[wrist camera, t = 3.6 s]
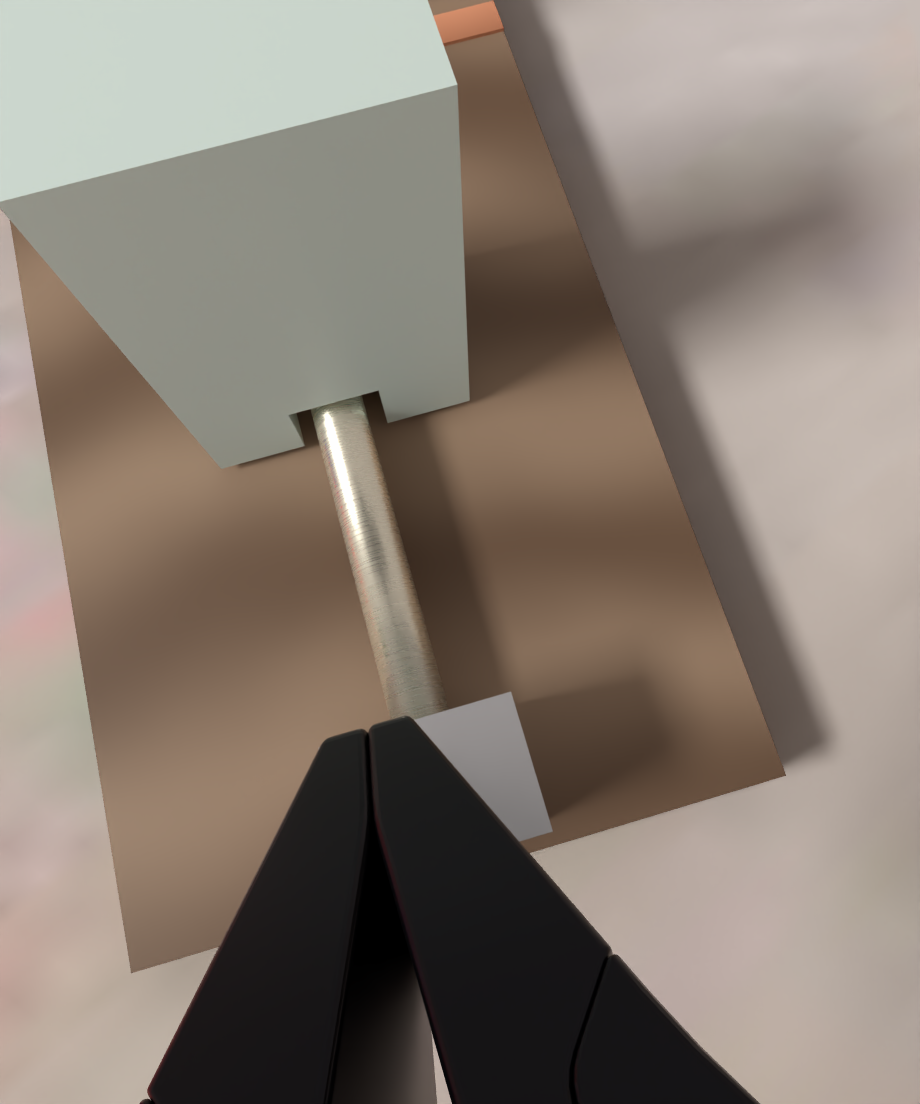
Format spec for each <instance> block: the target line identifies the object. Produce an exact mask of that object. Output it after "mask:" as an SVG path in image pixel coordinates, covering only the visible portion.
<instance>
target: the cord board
mask: <svg viewBox="0 0 920 1104" xmlns="http://www.w3.org/2000/svg"><path fill="white" fill-rule="evenodd" d="M428 3H429V5H430V8H431V11H432V14H433V17H434V20H435V22H436V25H437V28H438V31H439V34H440V37H441V39H442V42H443V45H444V48H445V51H446V54H447V56H448V59H449V62H450V65H451V68H452V71H453V74H454V76H455V79H456V82H457V87H458V112H459V138H460V164H461V190H462V216H463V241H464V267H465V293H466V319H467V344H468V370H469V396H470V401H467V402H463V403H459V404H456V405H452V406H449V407H445V408H441V409H438V410H434V411H430V412H427V413H423V414H419V415H416V416H412V417H408V418H405V419H401V420H398V421H394V422H390V423H387V419H386V416H385V412H384V409H383V405H382V402H381V398H380V395H379V391H375V392H371V393H367V394H364V395H362V398H363V402H364V405H365V409H366V413H367V416H368V420H369V423H370V427H371V431H372V434H373V438H374V441H375V445H376V449H377V452H378V456H379V459H380V463H381V467H382V470H383V474H384V477H385V481H386V485H387V488H388V492H389V495H390V499H391V503H392V506H393V510H394V513H395V517H396V520H397V524H398V528H399V531H400V535H401V538H402V542H403V546H404V549H405V553H406V556H407V560H408V564H409V567H410V571H411V574H412V578H413V582H414V585H415V589H416V592H417V596H418V600H419V603H420V607H421V610H422V614H423V618H424V621H425V625H426V628H427V632H428V636H429V639H430V643H431V646H432V650H433V654H434V657H435V661H436V664H437V668H438V672H439V675H440V679H441V682H442V686H443V689H444V693H445V697H446V700H447V704H448V707H449V709H453V708H456V707H460V706H463V705H467V704H470V703H473V702H477V701H480V700H484V699H487V698H491V697H494V696H497V695H501V694H504V693H508V692H511V693H512V697H513V700H514V703H515V707H516V710H517V713H518V717H519V720H520V723H521V727H522V730H523V733H524V737H525V740H526V743H527V747H528V750H529V753H530V757H531V760H532V763H533V767H534V770H535V773H536V777H537V780H538V783H539V787H540V790H541V793H542V797H543V800H544V803H545V807H546V810H547V813H548V817H549V820H550V823H551V827H552V830H553V832H549V833H546V834H543V835H539V836H536V837H533V838H529V839H526V840H523V841H520V843H521V844H522V845H523V846H524V848H525V849H526V850H527V851H528V852H529V853H531V852H534V851H538V850H541V849H544V848H547V847H551V846H554V845H557V844H561V843H564V842H567V841H571V840H574V839H577V838H581V837H584V836H587V835H591V834H594V833H597V832H600V831H604V830H607V829H610V828H614V827H617V826H620V825H624V824H627V823H630V822H634V821H637V820H640V819H644V818H647V817H650V816H653V815H657V814H660V813H663V812H667V811H670V810H673V809H677V808H680V807H683V806H687V805H690V804H693V803H696V802H700V801H703V800H706V799H710V798H713V797H716V796H720V795H723V794H726V793H730V792H733V791H736V790H740V789H743V788H746V787H749V786H753V785H756V784H759V783H763V782H766V781H769V780H773V779H776V778H779V777H783V776H786V774H785V771H784V769H783V766H782V764H781V761H780V758H779V756H778V753H777V750H776V748H775V745H774V742H773V740H772V737H771V735H770V732H769V729H768V727H767V724H766V721H765V719H764V716H763V713H762V711H761V708H760V706H759V703H758V700H757V698H756V695H755V692H754V690H753V687H752V684H751V682H750V679H749V677H748V674H747V671H746V669H745V666H744V663H743V661H742V658H741V655H740V653H739V650H738V648H737V645H736V642H735V640H734V637H733V634H732V632H731V629H730V626H729V624H728V621H727V619H726V616H725V613H724V611H723V608H722V605H721V603H720V600H719V597H718V595H717V592H716V590H715V587H714V584H713V582H712V579H711V576H710V574H709V571H708V568H707V566H706V563H705V561H704V558H703V555H702V553H701V550H700V547H699V545H698V542H697V539H696V537H695V534H694V532H693V529H692V526H691V524H690V521H689V518H688V516H687V513H686V510H685V508H684V505H683V503H682V500H681V497H680V495H679V492H678V489H677V487H676V484H675V481H674V479H673V476H672V474H671V471H670V468H669V466H668V463H667V460H666V458H665V455H664V452H663V450H662V447H661V445H660V442H659V439H658V437H657V434H656V431H655V429H654V426H653V423H652V421H651V418H650V416H649V413H648V410H647V408H646V405H645V402H644V400H643V397H642V394H641V392H640V389H639V387H638V384H637V381H636V379H635V376H634V373H633V371H632V368H631V365H630V363H629V360H628V358H627V355H626V352H625V350H624V347H623V344H622V342H621V339H620V336H619V334H618V331H617V329H616V326H615V323H614V321H613V318H612V315H611V313H610V310H609V307H608V305H607V302H606V299H605V297H604V294H603V292H602V289H601V286H600V284H599V281H598V278H597V276H596V273H595V270H594V268H593V265H592V263H591V260H590V257H589V255H588V252H587V249H586V247H585V244H584V241H583V239H582V236H581V234H580V231H579V228H578V226H577V223H576V220H575V218H574V215H573V212H572V210H571V207H570V205H569V202H568V199H567V197H566V194H565V191H564V189H563V186H562V183H561V181H560V178H559V176H558V173H557V170H556V168H555V165H554V162H553V160H552V157H551V154H550V152H549V149H548V147H547V144H546V141H545V139H544V136H543V133H542V131H541V128H540V125H539V123H538V120H537V118H536V115H535V112H534V110H533V107H532V104H531V102H530V99H529V96H528V94H527V91H526V89H525V86H524V83H523V81H522V78H521V75H520V73H519V70H518V67H517V65H516V62H515V60H514V57H513V54H512V52H511V49H510V46H509V44H508V41H507V38H506V36H505V33H504V27H503V25H502V22H501V19H500V17H499V14H498V11H497V9H496V6H495V3H494V1H492V0H428ZM10 224H11V230H12V236H13V242H14V249H15V255H16V261H17V267H18V273H19V280H20V286H21V292H22V298H23V304H24V311H25V317H26V323H27V329H28V335H29V342H30V348H31V354H32V360H33V366H34V373H35V379H36V385H37V391H38V397H39V404H40V410H41V416H42V422H43V428H44V435H45V441H46V447H47V453H48V459H49V466H50V472H51V478H52V484H53V490H54V497H55V503H56V509H57V515H58V521H59V528H60V534H61V540H62V546H63V552H64V559H65V565H66V571H67V577H68V584H69V590H70V596H71V602H72V608H73V615H74V621H75V627H76V633H77V639H78V646H79V652H80V658H81V664H82V670H83V677H84V683H85V689H86V695H87V701H88V708H89V714H90V720H91V726H92V732H93V739H94V745H95V751H96V757H97V763H98V770H99V776H100V782H101V788H102V794H103V801H104V807H105V813H106V819H107V825H108V832H109V838H110V844H111V850H112V856H113V863H114V869H115V875H116V881H117V887H118V894H119V900H120V906H121V912H122V918H123V925H124V931H125V937H126V943H127V949H128V956H129V962H130V968H131V973H133V972H137V971H140V970H143V969H147V968H150V967H153V966H157V965H160V964H163V963H167V962H170V961H173V960H177V959H180V958H183V957H186V956H190V955H193V954H196V953H200V952H203V951H206V950H210V949H213V948H216V947H219V946H220V944H221V942H222V940H223V938H224V936H225V934H226V932H227V930H228V928H229V926H230V924H231V922H232V920H233V918H234V916H235V914H236V912H237V910H238V908H239V906H240V904H241V902H242V900H243V898H244V896H245V894H246V892H247V890H248V888H249V886H250V884H251V882H252V880H253V878H254V876H255V875H256V873H257V871H258V869H259V867H260V865H261V863H262V861H263V859H264V857H265V855H266V853H267V851H268V849H269V847H270V845H271V843H272V841H273V839H274V837H275V835H276V833H277V831H278V829H279V827H280V825H281V823H282V821H283V819H284V817H285V815H286V813H287V811H288V809H289V807H290V805H291V803H292V801H293V799H294V797H295V795H296V793H297V791H298V789H299V787H300V785H301V783H302V781H303V779H304V777H305V775H306V773H307V771H308V769H309V767H310V765H311V763H312V761H313V759H314V757H315V755H316V753H317V752H318V750H319V749H318V748H319V747H320V746H321V744H322V743H323V742H324V741H325V740H326V739H327V738H329V737H332V736H336V735H339V734H342V733H346V732H349V731H353V730H356V729H364V730H366V731H367V732H369V729H370V727H371V726H372V725H374V724H377V723H380V722H384V721H387V720H391V719H390V715H389V711H388V707H387V704H386V700H385V696H384V692H383V688H382V684H381V680H380V677H379V673H378V669H377V665H376V661H375V657H374V653H373V649H372V646H371V642H370V638H369V634H368V630H367V626H366V622H365V618H364V615H363V611H362V607H361V603H360V599H359V595H358V591H357V587H356V584H355V580H354V576H353V572H352V568H351V564H350V560H349V557H348V553H347V549H346V545H345V541H344V537H343V533H342V529H341V526H340V522H339V518H338V514H337V510H336V506H335V502H334V498H333V495H332V491H331V487H330V483H329V479H328V475H327V471H326V467H325V464H324V460H323V456H322V452H321V448H320V444H319V440H318V437H317V433H316V429H315V425H314V421H313V417H312V413H311V409H309V410H305V411H301V412H298V413H297V417H298V421H299V425H300V429H301V433H302V437H303V441H304V445H305V446H303V447H299V448H296V449H292V450H288V451H285V452H281V453H277V454H274V455H270V456H266V457H263V458H259V459H255V460H252V461H248V462H245V463H241V464H237V465H234V466H230V467H226V468H223V469H221V468H220V467H219V466H218V464H217V463H216V462H215V461H214V460H213V459H212V457H211V456H210V455H209V454H208V453H207V452H206V450H205V449H204V448H203V447H202V446H201V444H200V443H199V442H198V441H197V440H196V439H195V437H194V436H193V435H192V434H191V433H190V431H189V430H188V429H187V428H186V427H185V426H184V424H183V423H182V422H181V421H180V420H179V418H178V417H177V416H176V415H175V414H174V413H173V411H172V410H171V409H170V408H169V407H168V406H167V404H166V403H165V402H164V401H163V400H162V398H161V397H160V396H159V395H158V394H157V393H156V391H155V390H154V389H153V388H152V387H151V385H150V384H149V383H148V382H147V381H146V380H145V378H144V377H143V376H142V375H141V374H140V373H139V371H138V370H137V369H136V368H135V367H134V365H133V364H132V363H131V362H130V361H129V360H128V358H127V357H126V356H125V355H124V354H123V352H122V351H121V350H120V349H119V348H118V347H117V345H116V344H115V343H114V342H113V341H112V340H111V338H110V337H109V336H108V335H107V334H106V332H105V331H104V330H103V329H102V328H101V327H100V325H99V324H98V323H97V322H96V321H95V319H94V318H93V317H92V316H91V315H90V314H89V312H88V311H87V310H86V309H85V308H84V307H83V305H82V304H81V303H80V302H79V301H78V299H77V298H76V297H75V296H74V295H73V294H72V292H71V291H70V290H69V289H68V288H67V286H66V285H65V284H64V283H63V282H62V281H61V279H60V278H59V277H58V276H57V275H56V273H55V272H54V271H53V270H52V269H51V268H50V266H49V265H48V264H47V263H46V262H45V261H44V259H43V258H42V257H41V256H40V255H39V253H38V252H37V251H36V250H35V249H34V248H33V246H32V245H31V244H30V243H29V242H28V240H27V239H26V238H25V237H24V236H23V235H22V233H21V232H20V231H19V230H18V229H17V228H16V226H15V225H14V224H13V223H12V222H11V220H10Z"/></svg>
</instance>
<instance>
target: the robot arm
mask: <svg viewBox="0 0 920 1104" xmlns="http://www.w3.org/2000/svg"><path fill="white" fill-rule="evenodd" d="M431 1031H432V1034H433V1038H434V1042H435V1045H436V1049H437V1052H438V1056H439V1059H440V1063H441V1066H442V1070H443V1073H444V1077H445V1080H446V1084H447V1087H448V1091H449V1095H450V1098H451V1102H452V1104H760V1103H759V1102H758V1101H757V1100H756V1099H755V1098H754V1097H753V1096H751V1095H750V1094H749V1093H748V1092H747V1091H746V1090H745V1089H744V1088H743V1087H742V1086H741V1085H740V1084H739V1083H738V1082H737V1081H736V1080H735V1079H734V1078H733V1077H732V1076H731V1075H730V1074H729V1073H728V1072H727V1071H725V1070H724V1069H723V1068H722V1067H721V1066H720V1065H719V1064H718V1063H717V1062H716V1061H715V1060H714V1059H713V1058H712V1057H711V1056H710V1055H709V1054H708V1053H707V1052H706V1051H705V1050H704V1049H703V1048H702V1047H701V1046H700V1045H699V1044H698V1043H697V1042H696V1041H695V1040H694V1039H693V1038H692V1037H691V1036H690V1034H689V1033H688V1032H687V1031H686V1030H685V1029H684V1028H683V1027H682V1026H681V1025H680V1024H679V1023H678V1022H677V1020H676V1019H675V1018H674V1017H673V1016H672V1015H671V1014H670V1013H669V1012H668V1011H667V1010H666V1009H665V1007H664V1006H663V1005H662V1004H661V1003H660V1002H659V1001H658V1000H657V999H656V998H655V997H654V996H653V995H652V993H651V992H650V991H649V990H648V989H647V988H646V987H645V986H644V984H643V983H642V982H641V981H640V980H639V979H638V977H637V976H636V975H635V974H634V973H633V972H632V971H631V969H630V968H629V967H628V966H627V965H626V964H625V962H624V961H623V960H622V959H621V958H620V957H619V956H618V955H615V954H612V950H611V947H610V946H609V945H608V944H607V942H606V941H605V940H604V939H603V938H602V937H601V935H600V934H599V933H598V932H597V931H596V930H595V929H594V927H593V926H592V925H591V924H590V923H589V922H588V920H587V919H586V918H585V917H584V916H583V915H582V914H581V912H580V911H579V910H578V909H577V908H576V907H575V905H574V904H573V903H572V902H571V901H570V900H569V899H568V897H567V896H566V895H565V894H564V893H563V892H562V890H561V889H560V888H559V887H558V886H557V885H556V883H555V882H554V881H553V880H552V879H551V878H550V877H549V875H548V874H547V873H546V872H545V871H544V870H543V868H542V867H541V866H540V865H539V864H538V863H537V862H536V860H535V859H534V858H533V857H532V856H531V855H530V853H529V852H528V851H527V850H526V849H525V848H524V846H523V845H522V844H521V843H520V842H519V841H518V840H517V838H516V837H515V836H514V835H513V834H512V833H511V831H510V830H509V829H508V828H507V827H506V826H505V825H504V823H503V822H502V821H501V820H500V819H499V818H498V816H497V815H496V814H495V813H494V812H493V811H492V809H491V808H490V807H489V806H488V805H487V804H486V803H485V801H484V800H483V799H482V798H481V797H480V796H479V794H478V793H477V792H476V791H475V790H474V789H473V788H472V786H471V785H470V784H469V783H468V782H467V781H466V779H465V778H464V777H463V776H462V775H461V774H460V772H459V771H458V770H457V769H456V768H455V767H454V766H453V764H452V763H451V762H450V761H449V760H448V759H447V757H446V756H445V755H444V754H443V753H442V752H441V751H440V749H439V748H438V747H437V746H436V745H435V744H434V742H433V741H432V740H431V739H430V738H429V737H428V735H427V734H426V733H425V732H424V731H423V730H422V729H421V727H420V726H419V725H418V724H417V723H416V722H415V720H414V719H412V718H411V717H410V716H401V717H397V718H394V719H391V720H387V721H384V722H380V723H377V724H374V725H372V726H371V727H370V729H369V732H367V731H366V730H364V729H356V730H353V731H349V732H346V733H342V734H339V735H336V736H332V737H329V738H327V739H326V740H325V741H324V742H323V743H322V744H321V746H320V748H319V750H318V752H317V753H316V755H315V757H314V759H313V761H312V763H311V765H310V767H309V769H308V771H307V773H306V775H305V777H304V779H303V781H302V783H301V785H300V787H299V789H298V791H297V793H296V795H295V797H294V799H293V801H292V803H291V805H290V807H289V809H288V811H287V813H286V815H285V817H284V819H283V821H282V823H281V825H280V827H279V829H278V831H277V833H276V835H275V837H274V839H273V841H272V843H271V845H270V847H269V849H268V851H267V853H266V855H265V857H264V859H263V861H262V863H261V865H260V867H259V869H258V871H257V873H256V875H255V876H254V878H253V880H252V882H251V884H250V886H249V888H248V890H247V892H246V894H245V896H244V898H243V900H242V902H241V904H240V906H239V908H238V910H237V912H236V914H235V916H234V918H233V920H232V922H231V924H230V926H229V928H228V930H227V932H226V934H225V936H224V938H223V940H222V942H221V944H220V946H219V948H218V950H217V952H216V954H215V956H214V958H213V960H212V962H211V964H210V966H209V968H208V970H207V972H206V974H205V976H204V978H203V980H202V982H201V984H200V986H199V988H198V990H197V992H196V994H195V996H194V997H193V999H192V1001H191V1003H190V1005H189V1007H188V1009H187V1011H186V1013H185V1015H184V1017H183V1019H182V1021H181V1023H180V1025H179V1027H178V1029H177V1031H176V1033H175V1035H174V1037H173V1039H172V1041H171V1043H170V1045H169V1047H168V1049H167V1051H166V1053H165V1055H164V1057H163V1059H162V1061H161V1063H160V1065H159V1067H158V1069H157V1071H156V1073H155V1075H154V1077H153V1079H152V1081H151V1083H150V1085H149V1087H148V1090H147V1092H148V1095H149V1097H150V1099H151V1100H150V1099H144V1100H142V1101H141V1102H140V1104H437V1097H436V1084H435V1071H434V1059H433V1046H432V1034H431Z"/></svg>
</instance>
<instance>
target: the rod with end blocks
mask: <svg viewBox="0 0 920 1104" xmlns="http://www.w3.org/2000/svg"><path fill="white" fill-rule="evenodd" d="M311 413H312V417H313V421H314V425H315V429H316V433H317V437H318V440H319V444H320V448H321V452H322V456H323V460H324V464H325V467H326V471H327V475H328V479H329V483H330V487H331V491H332V495H333V498H334V502H335V506H336V510H337V514H338V518H339V522H340V526H341V529H342V533H343V537H344V541H345V545H346V549H347V553H348V557H349V560H350V564H351V568H352V572H353V576H354V580H355V584H356V587H357V591H358V595H359V599H360V603H361V607H362V611H363V615H364V618H365V622H366V626H367V630H368V634H369V638H370V642H371V646H372V649H373V653H374V657H375V661H376V665H377V669H378V673H379V677H380V680H381V684H382V688H383V692H384V696H385V700H386V704H387V707H388V711H389V715H390V719H394V718H397V717H401V716H410V717H411V718H412V719H414V720H415V722H416V723H417V724H418V725H419V726H420V727H421V729H422V730H423V731H424V732H425V733H426V734H427V735H428V737H429V738H430V739H431V740H432V741H433V742H434V744H435V745H436V746H437V747H438V748H439V749H440V751H441V752H442V753H443V754H444V755H445V756H446V757H447V759H448V760H449V761H450V762H451V763H452V764H453V766H454V767H455V768H456V769H457V770H458V771H459V772H460V774H461V775H462V776H463V777H464V778H465V779H466V781H467V782H468V783H469V784H470V785H471V786H472V788H473V789H474V790H475V791H476V792H477V793H478V794H479V796H480V797H481V798H482V799H483V800H484V801H485V803H486V804H487V805H488V806H489V807H490V808H491V809H492V811H493V812H494V813H495V814H496V815H497V816H498V818H499V819H500V820H501V821H502V822H503V823H504V825H505V826H506V827H507V828H508V829H509V830H510V831H511V833H512V834H513V835H514V836H515V837H516V838H517V840H518V841H519V842H520V841H523V840H526V839H529V838H533V837H536V836H539V835H543V834H546V833H549V832H553V830H552V827H551V823H550V820H549V817H548V813H547V810H546V807H545V803H544V800H543V797H542V793H541V790H540V787H539V783H538V780H537V777H536V773H535V770H534V767H533V763H532V760H531V757H530V753H529V750H528V747H527V743H526V740H525V737H524V733H523V730H522V727H521V723H520V720H519V717H518V713H517V710H516V707H515V703H514V700H513V697H512V693H511V692H508V693H504V694H501V695H497V696H494V697H491V698H487V699H484V700H480V701H477V702H473V703H470V704H467V705H463V706H460V707H456V708H453V709H449V707H448V704H447V700H446V697H445V693H444V689H443V686H442V682H441V679H440V675H439V672H438V668H437V664H436V661H435V657H434V654H433V650H432V646H431V643H430V639H429V636H428V632H427V628H426V625H425V621H424V618H423V614H422V610H421V607H420V603H419V600H418V596H417V592H416V589H415V585H414V582H413V578H412V574H411V571H410V567H409V564H408V560H407V556H406V553H405V549H404V546H403V542H402V538H401V535H400V531H399V528H398V524H397V520H396V517H395V513H394V510H393V506H392V503H391V499H390V495H389V492H388V488H387V485H386V481H385V477H384V474H383V470H382V467H381V463H380V459H379V456H378V452H377V449H376V445H375V441H374V438H373V434H372V431H371V427H370V423H369V420H368V416H367V413H366V409H365V405H364V402H363V398H362V395H360V396H356V397H353V398H349V399H345V400H342V401H338V402H334V403H331V404H327V405H323V406H320V407H316V408H312V409H311ZM319 748H320V747H319ZM319 748H318V749H319Z"/></svg>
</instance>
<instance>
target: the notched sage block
mask: <svg viewBox="0 0 920 1104" xmlns="http://www.w3.org/2000/svg"><path fill="white" fill-rule="evenodd" d="M0 209H1V210H2V211H3V212H4V213H5V215H6V216H7V217H8V218H9V219H10V220H11V222H12V223H13V224H14V225H15V226H16V228H17V229H18V230H19V231H20V232H21V233H22V235H23V236H24V237H25V238H26V239H27V240H28V242H29V243H30V244H31V245H32V246H33V248H34V249H35V250H36V251H37V252H38V253H39V255H40V256H41V257H42V258H43V259H44V261H45V262H46V263H47V264H48V265H49V266H50V268H51V269H52V270H53V271H54V272H55V273H56V275H57V276H58V277H59V278H60V279H61V281H62V282H63V283H64V284H65V285H66V286H67V288H68V289H69V290H70V291H71V292H72V294H73V295H74V296H75V297H76V298H77V299H78V301H79V302H80V303H81V304H82V305H83V307H84V308H85V309H86V310H87V311H88V312H89V314H90V315H91V316H92V317H93V318H94V319H95V321H96V322H97V323H98V324H99V325H100V327H101V328H102V329H103V330H104V331H105V332H106V334H107V335H108V336H109V337H110V338H111V340H112V341H113V342H114V343H115V344H116V345H117V347H118V348H119V349H120V350H121V351H122V352H123V354H124V355H125V356H126V357H127V358H128V360H129V361H130V362H131V363H132V364H133V365H134V367H135V368H136V369H137V370H138V371H139V373H140V374H141V375H142V376H143V377H144V378H145V380H146V381H147V382H148V383H149V384H150V385H151V387H152V388H153V389H154V390H155V391H156V393H157V394H158V395H159V396H160V397H161V398H162V400H163V401H164V402H165V403H166V404H167V406H168V407H169V408H170V409H171V410H172V411H173V413H174V414H175V415H176V416H177V417H178V418H179V420H180V421H181V422H182V423H183V424H184V426H185V427H186V428H187V429H188V430H189V431H190V433H191V434H192V435H193V436H194V437H195V439H196V440H197V441H198V442H199V443H200V444H201V446H202V447H203V448H204V449H205V450H206V452H207V453H208V454H209V455H210V456H211V457H212V459H213V460H214V461H215V462H216V463H217V464H218V466H219V467H220V468H221V469H223V468H226V467H230V466H234V465H237V464H241V463H245V462H248V461H252V460H255V459H259V458H263V457H266V456H270V455H274V454H277V453H281V452H285V451H288V450H292V449H296V448H299V447H303V446H305V445H304V441H303V437H302V433H301V429H300V425H299V421H298V417H297V413H298V412H301V411H305V410H309V409H312V408H316V407H320V406H323V405H327V404H331V403H334V402H338V401H342V400H345V399H349V398H353V397H356V396H360V395H364V394H367V393H371V392H375V391H379V395H380V398H381V402H382V405H383V409H384V412H385V416H386V419H387V423H390V422H394V421H398V420H401V419H405V418H408V417H412V416H416V415H419V414H423V413H427V412H430V411H434V410H438V409H441V408H445V407H449V406H452V405H456V404H459V403H463V402H467V401H470V396H469V370H468V344H467V319H466V293H465V267H464V241H463V216H462V190H461V164H460V138H459V112H458V87H457V82H456V79H455V76H454V74H453V71H452V68H451V65H450V62H449V59H448V56H447V54H446V51H445V48H444V45H443V42H442V39H441V37H440V34H439V31H438V28H437V25H436V22H435V20H434V17H433V14H432V11H431V8H430V5H429V3H428V0H0Z"/></svg>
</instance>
